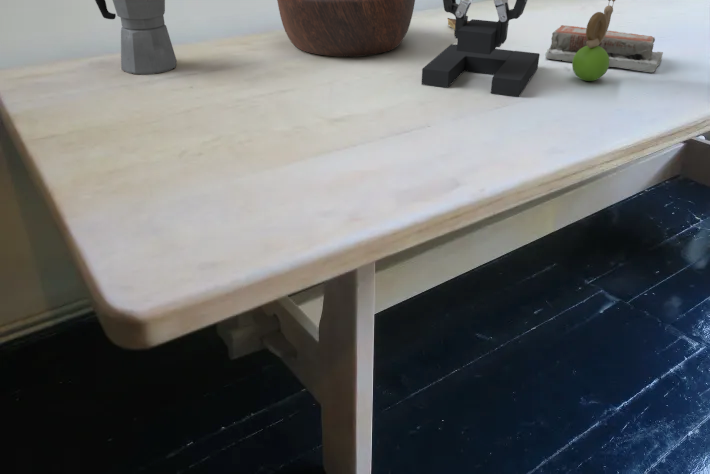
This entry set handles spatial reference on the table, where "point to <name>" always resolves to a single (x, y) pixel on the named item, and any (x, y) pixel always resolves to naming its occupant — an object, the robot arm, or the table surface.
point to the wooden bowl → (346, 25)
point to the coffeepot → (142, 35)
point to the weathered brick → (607, 48)
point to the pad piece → (477, 37)
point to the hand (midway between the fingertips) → (479, 43)
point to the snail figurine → (594, 48)
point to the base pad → (483, 68)
